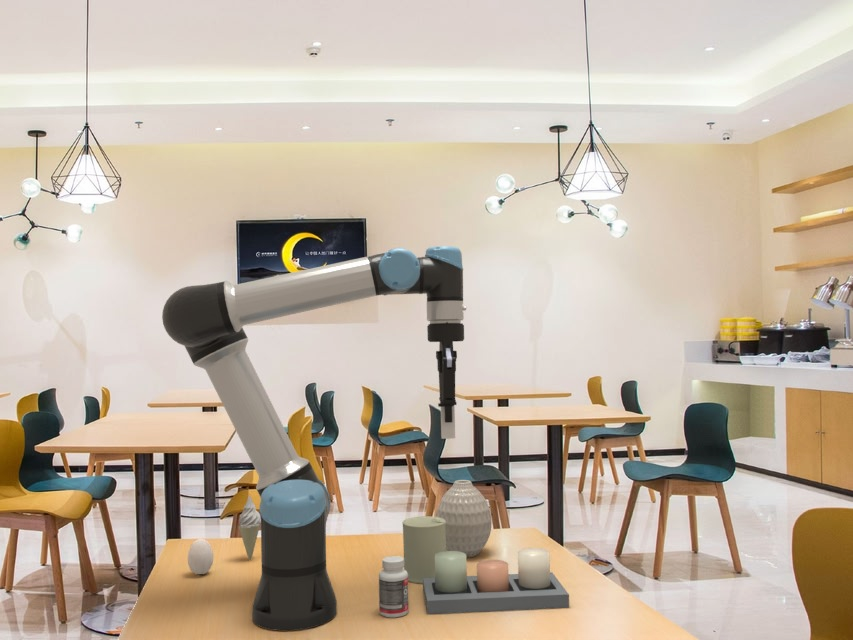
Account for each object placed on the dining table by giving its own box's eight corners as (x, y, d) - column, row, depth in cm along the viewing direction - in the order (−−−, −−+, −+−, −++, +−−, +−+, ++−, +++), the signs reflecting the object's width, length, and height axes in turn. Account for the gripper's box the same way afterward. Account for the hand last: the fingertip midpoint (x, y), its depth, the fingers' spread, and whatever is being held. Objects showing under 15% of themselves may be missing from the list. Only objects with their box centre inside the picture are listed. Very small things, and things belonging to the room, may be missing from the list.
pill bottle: (411, 616, 135) (410, 561, 135) (382, 619, 134) (380, 564, 134) (405, 606, 140) (404, 553, 140) (377, 609, 139) (376, 556, 139)
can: (443, 584, 152) (441, 525, 152) (398, 582, 154) (397, 523, 154) (450, 570, 161) (449, 514, 161) (408, 569, 163) (407, 513, 163)
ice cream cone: (266, 559, 172) (265, 493, 173) (249, 565, 168) (248, 497, 168) (250, 556, 175) (249, 491, 175) (234, 561, 171) (232, 495, 171)
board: (427, 614, 136) (427, 600, 136) (423, 590, 149) (422, 578, 149) (569, 607, 138) (568, 594, 138) (552, 584, 150) (552, 572, 151)
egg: (194, 580, 158) (193, 543, 158) (183, 574, 162) (183, 538, 162) (218, 574, 162) (217, 538, 162) (207, 569, 166) (206, 534, 166)
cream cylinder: (522, 589, 140) (521, 557, 141) (516, 579, 146) (515, 548, 147) (553, 587, 141) (552, 555, 141) (546, 577, 147) (545, 546, 147)
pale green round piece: (436, 593, 139) (436, 560, 140) (434, 582, 145) (433, 551, 146) (468, 591, 140) (468, 559, 140) (465, 581, 146) (464, 550, 146)
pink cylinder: (479, 602, 140) (479, 569, 140) (475, 591, 146) (474, 560, 146) (511, 600, 140) (510, 568, 140) (506, 589, 146) (505, 558, 146)
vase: (494, 561, 166) (492, 486, 167) (436, 562, 167) (434, 487, 167) (490, 545, 179) (488, 475, 180) (436, 546, 179) (434, 476, 180)
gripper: (467, 321, 148) (470, 441, 147) (460, 322, 161) (462, 433, 160) (429, 322, 147) (432, 443, 147) (425, 323, 160) (427, 434, 160)
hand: (448, 437), depth 153 cm, fingers closed
